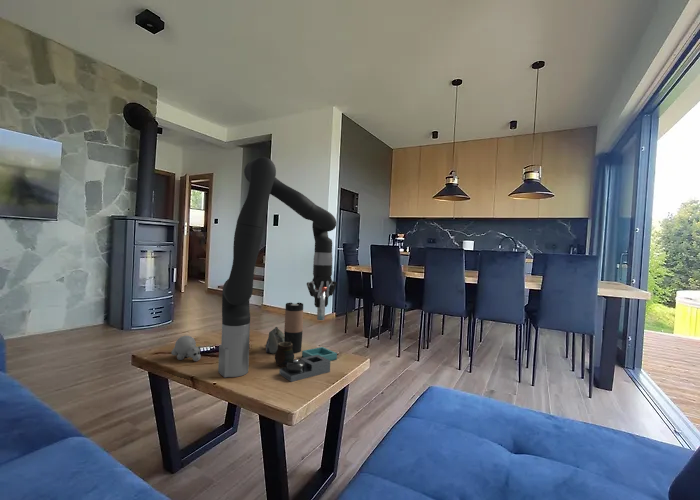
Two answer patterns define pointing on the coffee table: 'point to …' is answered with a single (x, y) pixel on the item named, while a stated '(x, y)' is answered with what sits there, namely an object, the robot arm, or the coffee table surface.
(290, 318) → the travel mug
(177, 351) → the chubby cartoon animal
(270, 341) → the mineral rock
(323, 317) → the lock pin
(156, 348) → the coffee table surface
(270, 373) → the coffee table surface
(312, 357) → the block
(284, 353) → the mate gourd
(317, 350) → the tray
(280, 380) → the coffee table surface
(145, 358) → the coffee table surface
